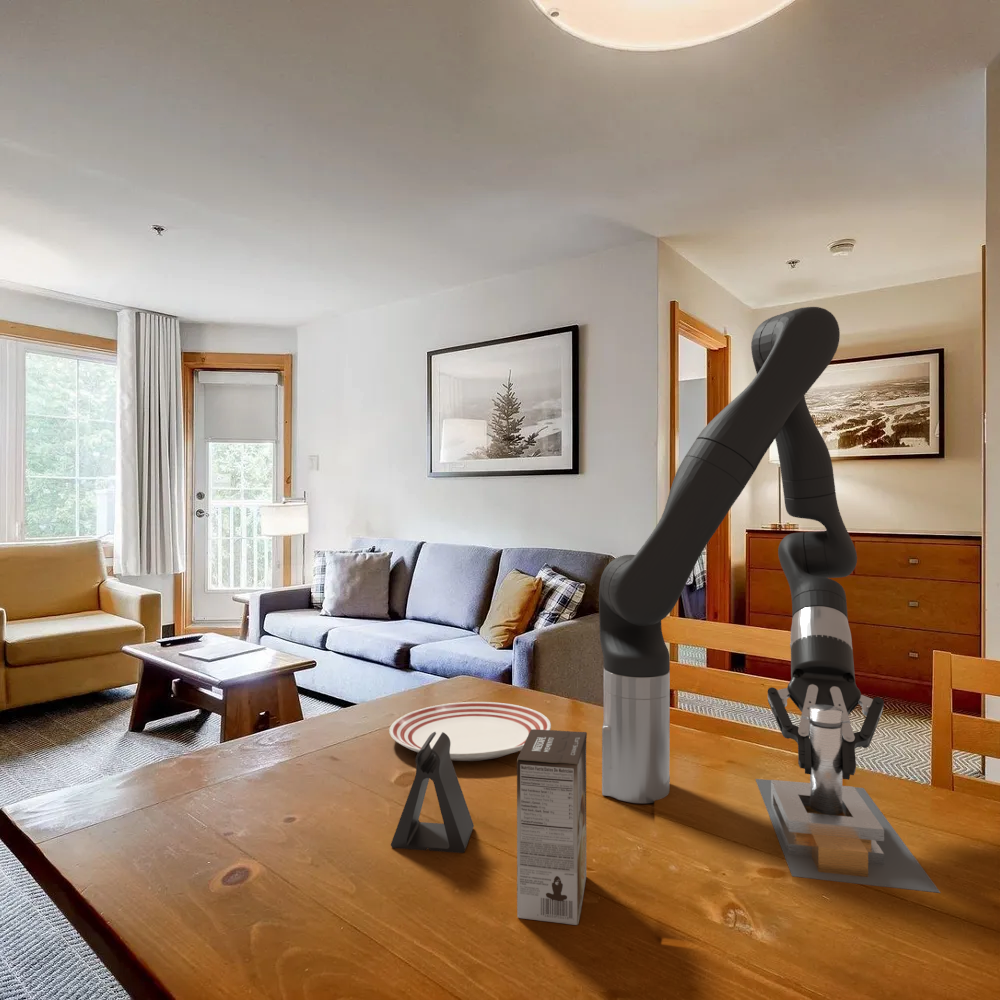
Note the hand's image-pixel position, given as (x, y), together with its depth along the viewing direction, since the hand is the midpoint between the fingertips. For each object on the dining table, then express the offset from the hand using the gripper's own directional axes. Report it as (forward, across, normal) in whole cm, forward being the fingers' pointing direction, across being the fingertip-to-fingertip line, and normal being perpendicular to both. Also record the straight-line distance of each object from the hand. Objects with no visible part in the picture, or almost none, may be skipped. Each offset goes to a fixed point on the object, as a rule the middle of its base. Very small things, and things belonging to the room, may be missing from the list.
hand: (827, 773), depth 80 cm
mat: (+3, +1, +10) cm, 11 cm away
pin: (+2, 0, +5) cm, 5 cm away
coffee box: (+21, -27, -9) cm, 36 cm away
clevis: (+5, 0, +7) cm, 9 cm away
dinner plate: (-5, -54, +18) cm, 57 cm away
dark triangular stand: (+17, -44, -4) cm, 48 cm away
